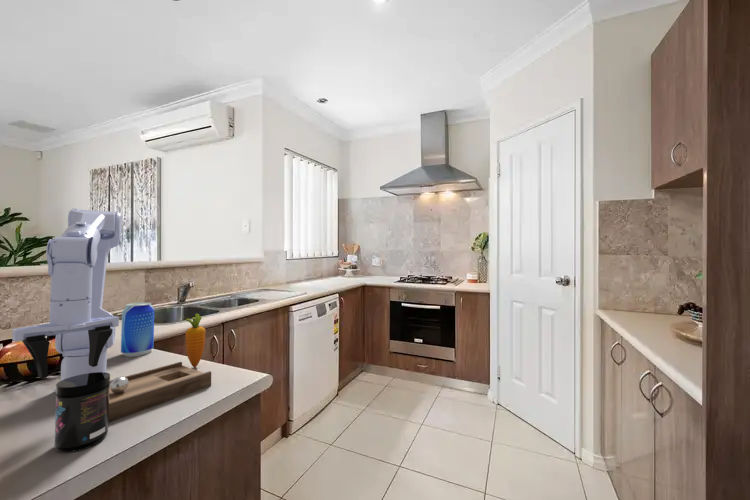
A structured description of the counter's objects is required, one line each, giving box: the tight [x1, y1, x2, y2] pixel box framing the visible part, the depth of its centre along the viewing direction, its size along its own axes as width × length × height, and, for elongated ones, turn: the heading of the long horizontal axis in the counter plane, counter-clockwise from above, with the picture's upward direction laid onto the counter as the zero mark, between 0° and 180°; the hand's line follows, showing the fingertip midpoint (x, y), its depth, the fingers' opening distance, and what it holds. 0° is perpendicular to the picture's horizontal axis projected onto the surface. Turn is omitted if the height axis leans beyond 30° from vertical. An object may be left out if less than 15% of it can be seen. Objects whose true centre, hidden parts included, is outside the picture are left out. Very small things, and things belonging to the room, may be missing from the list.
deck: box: [108, 361, 212, 423], centre depth 71 cm, size 14×21×3 cm, turn 149°
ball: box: [109, 376, 129, 393], centre depth 66 cm, size 3×3×3 cm
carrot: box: [185, 313, 207, 368], centre depth 89 cm, size 5×5×15 cm
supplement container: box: [53, 371, 111, 453], centre depth 53 cm, size 7×7×10 cm
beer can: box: [120, 302, 155, 358], centre depth 102 cm, size 8×8×16 cm
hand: (69, 371), depth 59 cm, fingers open, 6 cm apart
